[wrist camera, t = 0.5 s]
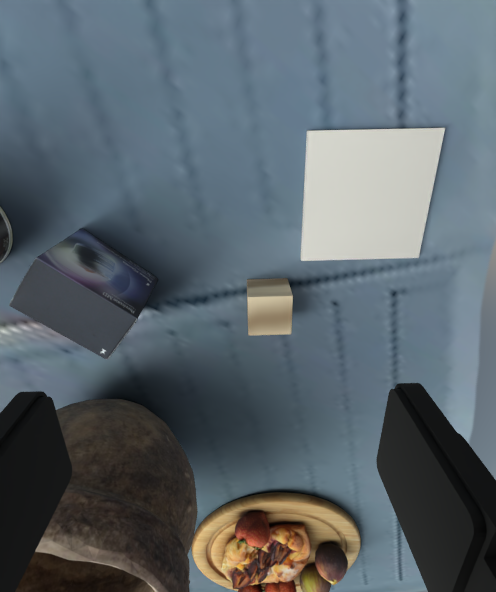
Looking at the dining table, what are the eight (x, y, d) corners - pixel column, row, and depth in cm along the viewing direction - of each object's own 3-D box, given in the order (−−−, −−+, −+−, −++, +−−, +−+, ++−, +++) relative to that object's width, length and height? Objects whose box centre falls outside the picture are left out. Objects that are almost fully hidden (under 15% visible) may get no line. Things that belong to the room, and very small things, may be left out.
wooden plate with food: (177, 495, 62) (169, 547, 55) (361, 480, 61) (378, 531, 54) (207, 587, 77) (203, 638, 70) (355, 577, 76) (367, 627, 68)
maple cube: (246, 279, 44) (247, 297, 39) (287, 278, 44) (292, 296, 40) (247, 314, 46) (248, 335, 42) (286, 313, 46) (291, 334, 42)
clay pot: (193, 340, 48) (152, 537, 25) (217, 470, 59) (205, 685, 37) (0, 358, 48) (-208, 566, 26) (61, 483, 60) (-45, 703, 37)
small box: (162, 276, 43) (140, 319, 34) (134, 313, 46) (107, 363, 36) (81, 224, 40) (34, 255, 31) (56, 266, 43) (5, 308, 33)
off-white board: (306, 130, 37) (307, 130, 36) (442, 127, 37) (445, 128, 36) (300, 259, 43) (301, 260, 42) (416, 256, 43) (418, 257, 42)
